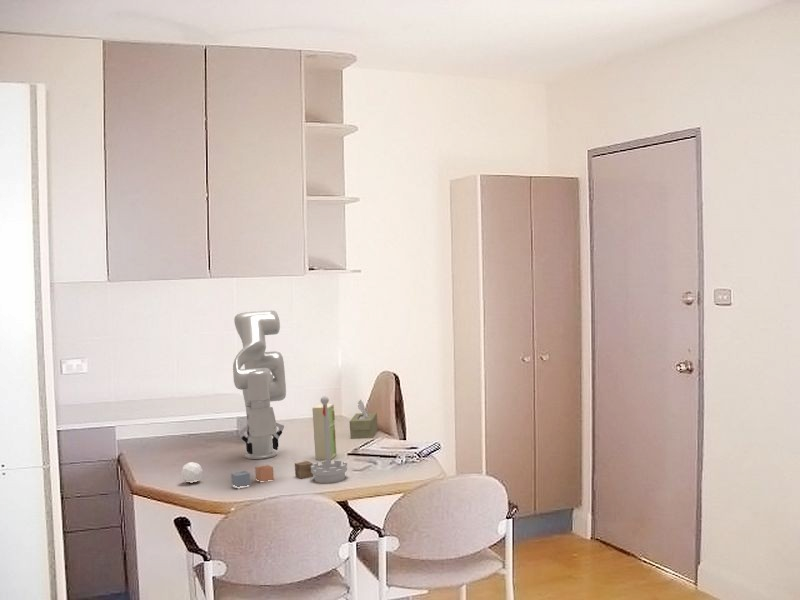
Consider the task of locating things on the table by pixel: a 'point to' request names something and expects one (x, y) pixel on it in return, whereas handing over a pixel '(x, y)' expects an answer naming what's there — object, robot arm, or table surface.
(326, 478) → the flag stand
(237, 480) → the slate-grey block
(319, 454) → the green and beige carton
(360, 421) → the tissue box
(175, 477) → the table surface
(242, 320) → the robot arm
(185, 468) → the geometric ball
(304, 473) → the walnut block
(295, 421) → the table surface
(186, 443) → the table surface
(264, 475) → the terracotta block
